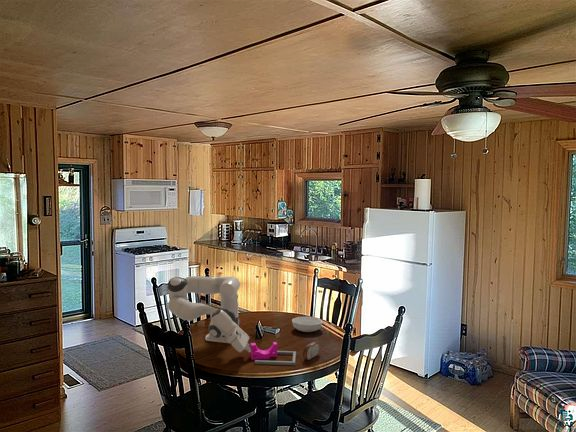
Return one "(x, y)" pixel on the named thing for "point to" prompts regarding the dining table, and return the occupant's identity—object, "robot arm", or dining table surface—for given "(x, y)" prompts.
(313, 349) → the tin
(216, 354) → the dining table surface
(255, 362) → the frame
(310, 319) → the serving bowl
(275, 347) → the toy block
